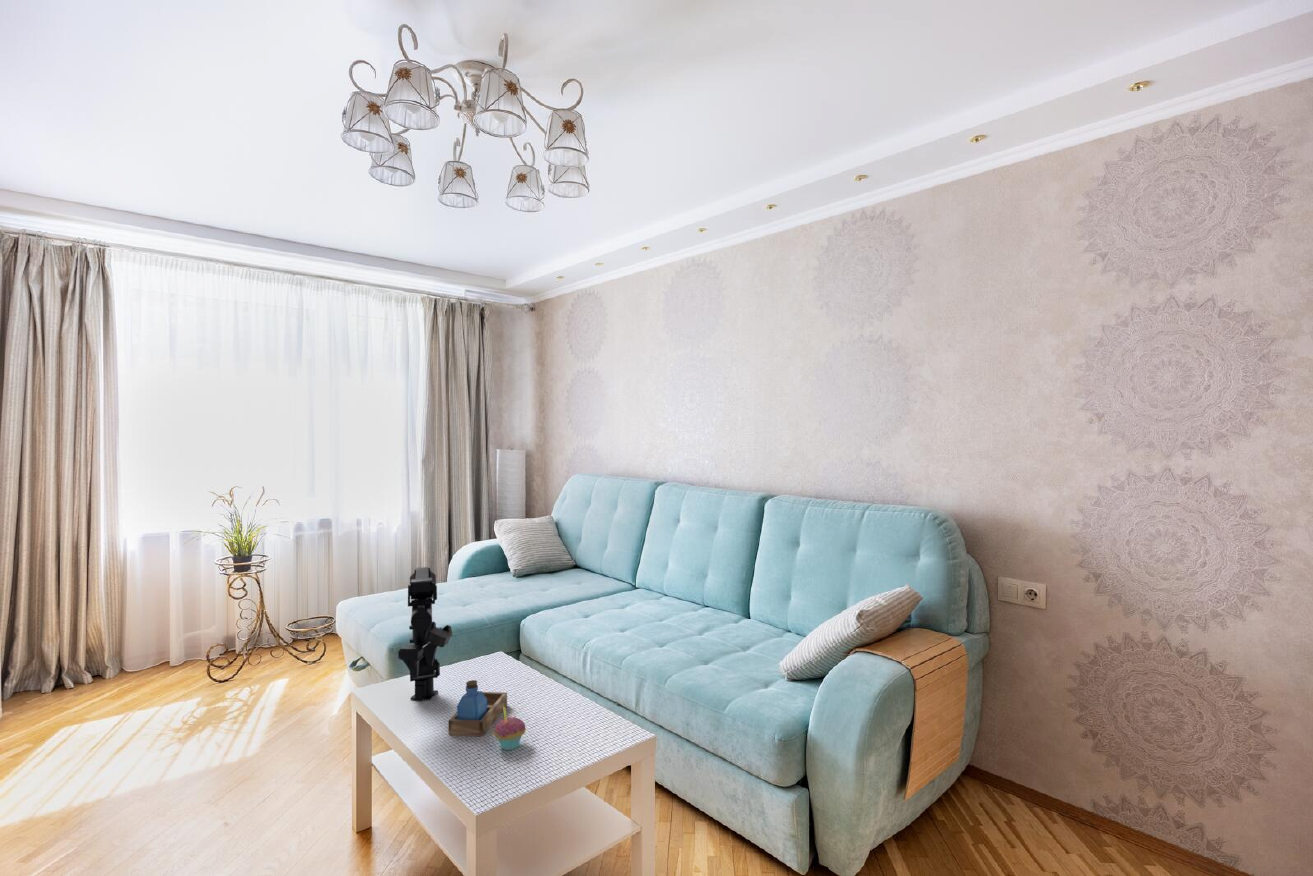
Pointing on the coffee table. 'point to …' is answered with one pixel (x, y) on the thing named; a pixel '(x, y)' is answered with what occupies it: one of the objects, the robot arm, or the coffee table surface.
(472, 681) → the perfume bottle
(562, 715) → the coffee table surface
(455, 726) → the wooden divided tray
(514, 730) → the cupcake
